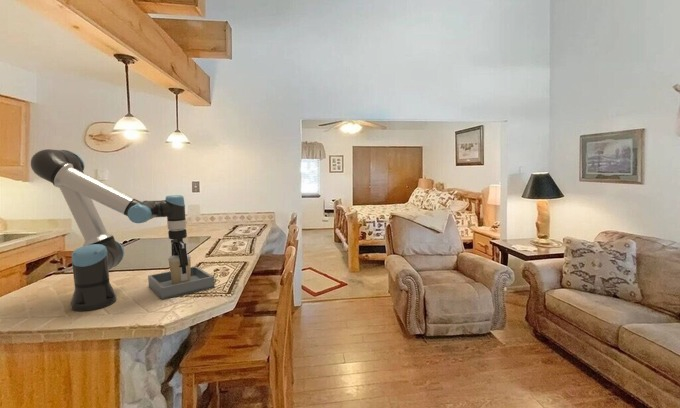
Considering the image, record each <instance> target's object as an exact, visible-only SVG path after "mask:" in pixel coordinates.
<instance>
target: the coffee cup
mask: <svg viewBox="0 0 680 408" xmlns="http://www.w3.org/2000/svg"><path fill="white" fill-rule="evenodd" d="M191 258H192V257H191V255H190V254H188V253H187V259H188V265H187V279H188V280H184V281H181V277H180V267H179V266H180V260H179V256H178V255H176V256H174V255H173V256H172V255H171V256H169V257H168V259H167V261H168V267H169V271H170V273H171V279H172V284H174V285H175V284H179V283H184V282H188V281H190V274H191V267H192V266H191V262H192V261H191Z"/></svg>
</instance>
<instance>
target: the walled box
mask: <svg viewBox="0 0 680 408" xmlns="http://www.w3.org/2000/svg"><path fill="white" fill-rule="evenodd" d="M147 278H148V279H147V280H148V287H149V288H150V290H152V291H153V292H154V293H155V294H156V295H157V296H158V297H159V298H160V299H161V300H162V301H163V300H167V299H172V298H176V297H179V296H180V297H181V296H184V295H188V294H192V293H193V294H194V293H197V292H201V291H205V289H206V290H209V288H210V289H213V288H212V287H214V288H215V287H216V286H215V276H213V275H212V274H210V273H208V272H207V271H206V270H204V269H202V268H200V267H199V266H197V265H196V266H191V274H190V281H188V282H184V283H179V284H175V285H174V284H172V279H171V273H170V270H169V271H166V272H161V273H154V274H150V275H147Z"/></svg>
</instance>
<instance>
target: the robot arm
mask: <svg viewBox="0 0 680 408" xmlns="http://www.w3.org/2000/svg"><path fill="white" fill-rule="evenodd" d="M30 168H31V170H32V172H33V173H34V174H36V176H38V177H39V178H41V179H44V180H45V181H47V182H49V183H51V184H52V185H53V187H55V188H58V189H59V190H60V191H61V193H62V195H63V198H64V200H65V202H66V204H67V206H68V208H69V210H70V212H71V215H72V216H73V219H74V221H75V223H76V225H77V227H78V229H79V231H80V234H81V235H82V237H83V239H84V242H83V245H82V246H80V247H77V248H76V249H74V250H73V251H72V253H71V265H72V274H73V282H74V291H73V294H72V299H71V302H70V308H71V310H72V311H76V312H86V311H94V310H98V309H102V308H106V307H108V306H111V305H113V304H114V303H115V302H116V301H117V295H116V292H115V290H114V288H113V286H112V285H111V282H110V272H109V271H111V270H112V269H113V268H115V267H117V266H118V265H119V264H120V262H122V260H123V259H124V256H125V249H124V247H123V245H122V244H121V242H118V241H117V240H116V239H115V236H114V235H113V234H112V233H109V232H107V229H106V227H105V225H104V223H103V220H102V219H101V216H100V214H99V212H98V210H97V208H96V206H95V203H94V201H95V202H97V203H99V204H101V205H103V206H105V207H107V208H109V209H112V210H113V211H116V212H118V213H120V214H122V215H124V216H126V217H127V218H128V219H129V221H131V223H134V224H144V223H147V222H148V221H149V220H152V219H154V218H166V223H167V230H168V232H167V233H168V234H167V235H168V239H169V240H170V243H171V246H170V247H171V256H173V255H174V256H176V255H178V256H179V260H180V266H179V267H180V277H181V281H184V280H188V279H187V265H188V259H187V254H188V253H187V252H188V251H187V243H186V242H184V239H185V238H187V237H188V236H187V235H188V234H187V229H186V228H187V222H188V221H187V220H186V205H185V198H184V196H183V195H180V194H175V195H174V194H173V195H172V194H171V195H166V196H165V199H163V200H142V201H141V200H138V199H136V198H134V197H133V196H130V195H128V194H126V193H125V192H122V191H121V190H118V189H117V188H114V187H112V186H110V185H108V184H106V183H105V182H102V181H100V180H98V179H96V178H94V177H93V176H90V175H89V174H87V173H85V172H84V171H85V170H84V169H85V162H84V159H83V158H82V157H81V156H80V155H79V154H77V153H76V152H73V151H71V150H67V149H42V150H39V151H37V152H35V153H34V154H33V155H32V157H31V159H30Z"/></svg>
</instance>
